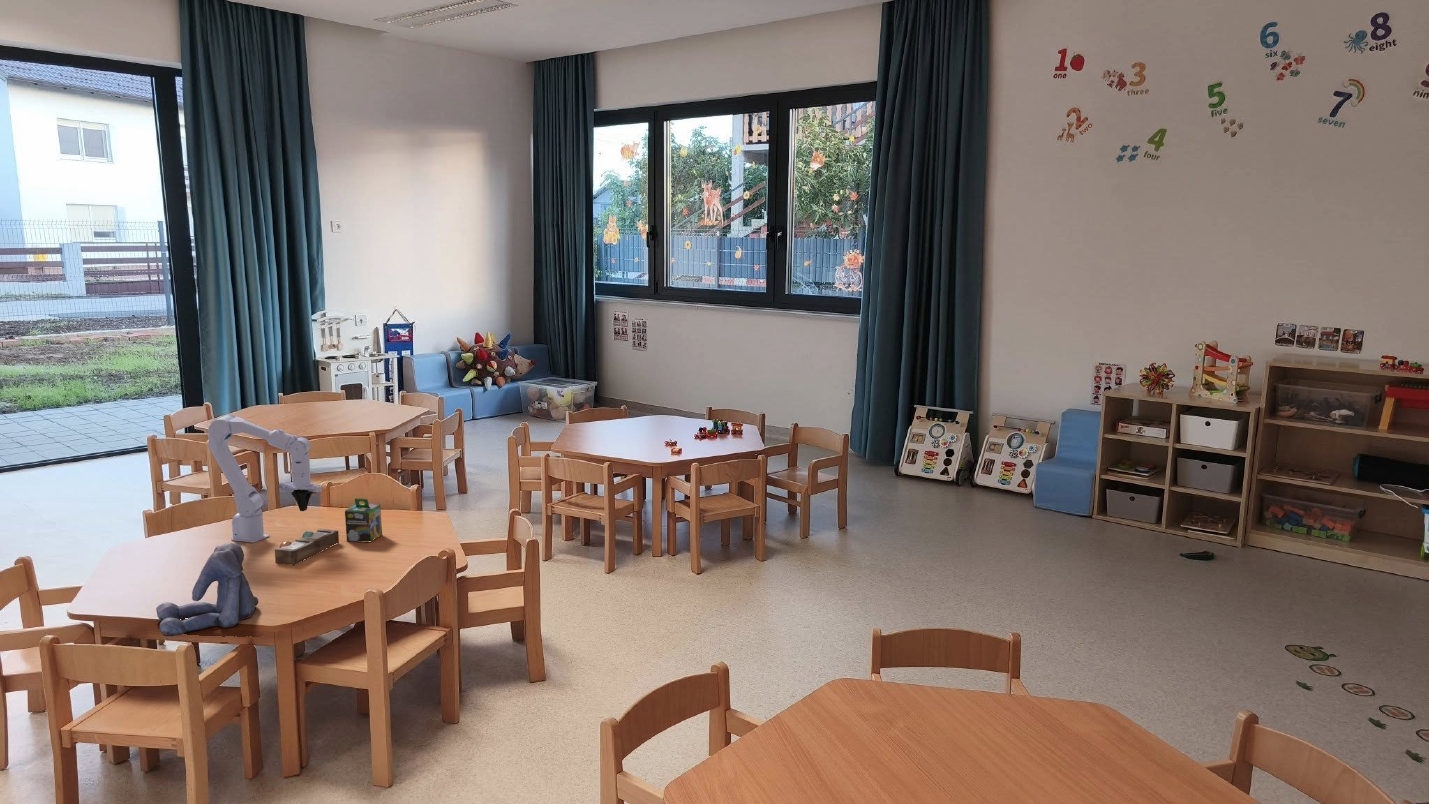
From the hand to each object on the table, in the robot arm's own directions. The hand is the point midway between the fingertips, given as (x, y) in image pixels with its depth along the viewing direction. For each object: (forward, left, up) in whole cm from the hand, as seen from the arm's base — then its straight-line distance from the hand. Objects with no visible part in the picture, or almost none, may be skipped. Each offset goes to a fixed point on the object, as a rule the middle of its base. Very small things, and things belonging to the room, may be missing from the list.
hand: (303, 510), depth 322 cm
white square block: (+10, -19, -9) cm, 23 cm away
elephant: (+21, -68, -10) cm, 72 cm away
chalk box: (+20, +6, -10) cm, 23 cm away
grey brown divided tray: (+12, -13, -10) cm, 20 cm away
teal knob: (+10, -8, -9) cm, 16 cm away
